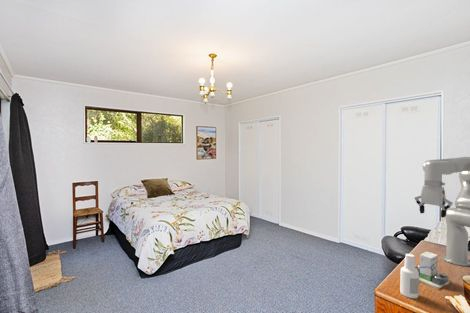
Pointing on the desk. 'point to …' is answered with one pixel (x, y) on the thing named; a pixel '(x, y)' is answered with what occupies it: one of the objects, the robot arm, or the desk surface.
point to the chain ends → (436, 277)
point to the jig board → (432, 283)
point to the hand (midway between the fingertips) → (432, 215)
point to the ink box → (428, 265)
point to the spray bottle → (409, 278)
